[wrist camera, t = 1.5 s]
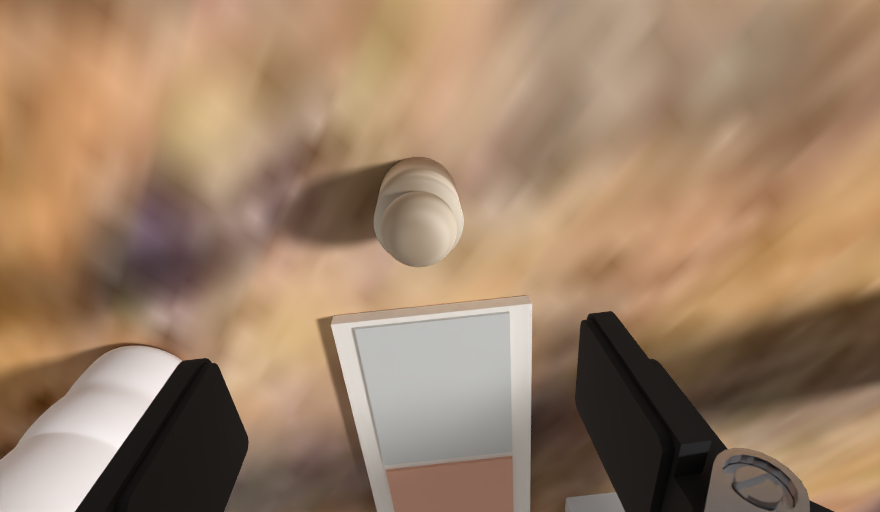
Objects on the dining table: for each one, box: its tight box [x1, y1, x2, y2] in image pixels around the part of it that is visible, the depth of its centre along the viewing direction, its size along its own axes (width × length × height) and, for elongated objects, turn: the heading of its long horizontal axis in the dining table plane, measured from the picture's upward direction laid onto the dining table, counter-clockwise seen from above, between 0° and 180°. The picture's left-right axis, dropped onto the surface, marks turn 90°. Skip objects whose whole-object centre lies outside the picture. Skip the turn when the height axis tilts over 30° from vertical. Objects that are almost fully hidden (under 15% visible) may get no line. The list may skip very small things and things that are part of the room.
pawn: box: [374, 157, 464, 267], centre depth 22 cm, size 4×4×7 cm
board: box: [331, 295, 532, 512], centre depth 34 cm, size 13×28×1 cm, turn 5°
